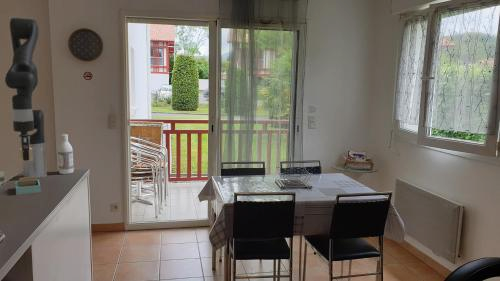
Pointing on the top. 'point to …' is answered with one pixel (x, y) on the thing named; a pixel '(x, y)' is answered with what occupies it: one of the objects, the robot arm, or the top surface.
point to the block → (27, 181)
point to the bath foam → (65, 156)
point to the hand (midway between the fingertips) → (26, 158)
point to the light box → (22, 155)
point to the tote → (28, 188)
